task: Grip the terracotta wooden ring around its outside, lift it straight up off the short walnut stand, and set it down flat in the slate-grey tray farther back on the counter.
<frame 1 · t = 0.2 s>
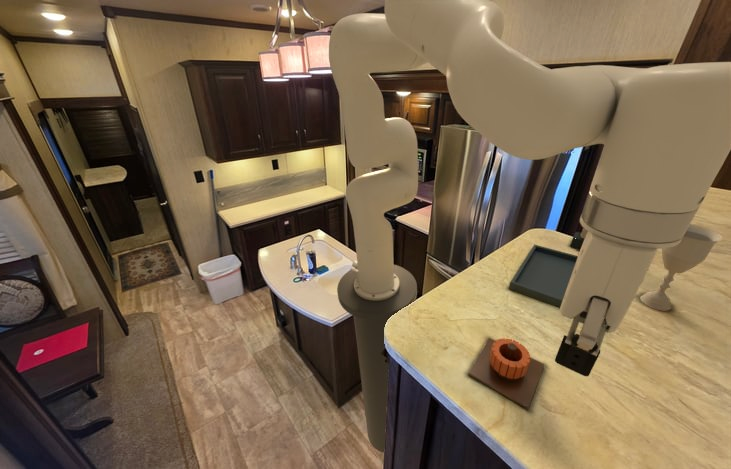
hand: (578, 340, 35), 18 cm above the worktop, tool pointing down, fingers open, 9 cm apart
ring: (507, 363, 51), point 2 cm above the worktop, touching stand
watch: (582, 246, 85), on the worktop
chalice: (654, 303, 64), on the worktop
tray: (554, 278, 74), on the worktop
stand: (505, 370, 52), on the worktop
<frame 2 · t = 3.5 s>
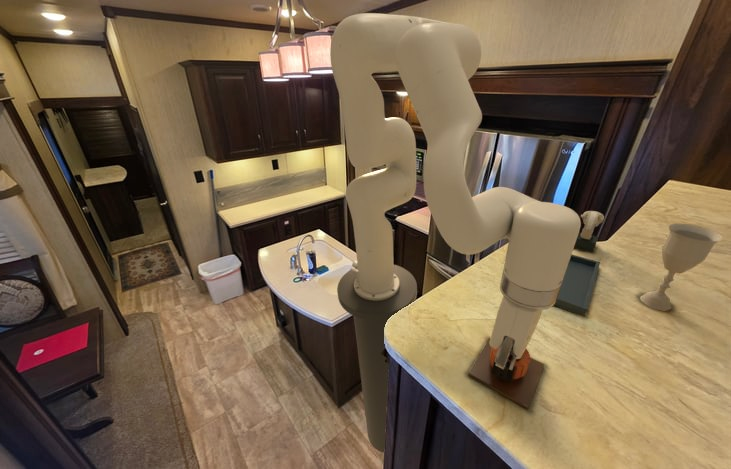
hand: (507, 363, 51), 2 cm above the worktop, tool pointing down, fingers closed on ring, 6 cm apart
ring: (507, 363, 51), point 2 cm above the worktop, touching gripper, stand
everything else where it was.
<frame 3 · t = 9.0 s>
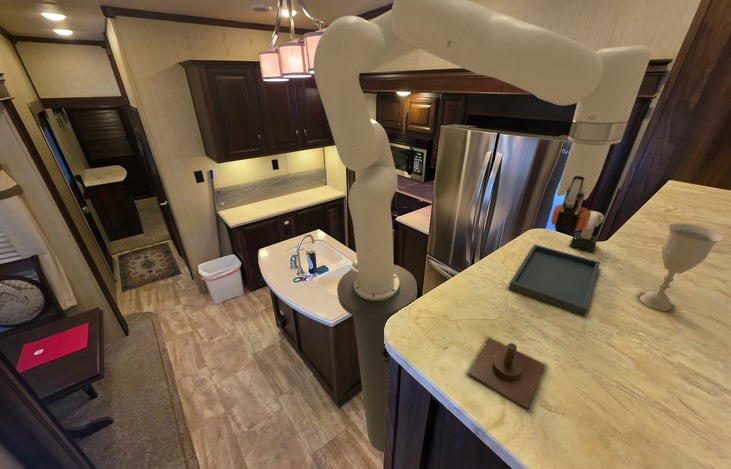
hand: (568, 223, 58), 20 cm above the worktop, tool pointing down, fingers closed on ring, 6 cm apart
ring: (568, 223, 58), point 20 cm above the worktop, touching gripper
everything else where it was.
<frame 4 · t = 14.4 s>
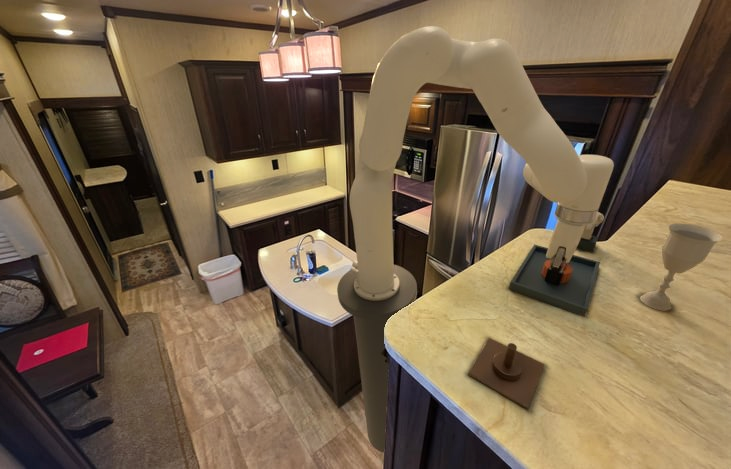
hand: (554, 275, 73), 1 cm above the worktop, tool pointing down, fingers closed on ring, 6 cm apart
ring: (555, 276, 73), point 1 cm above the worktop, touching gripper
everything else where it was.
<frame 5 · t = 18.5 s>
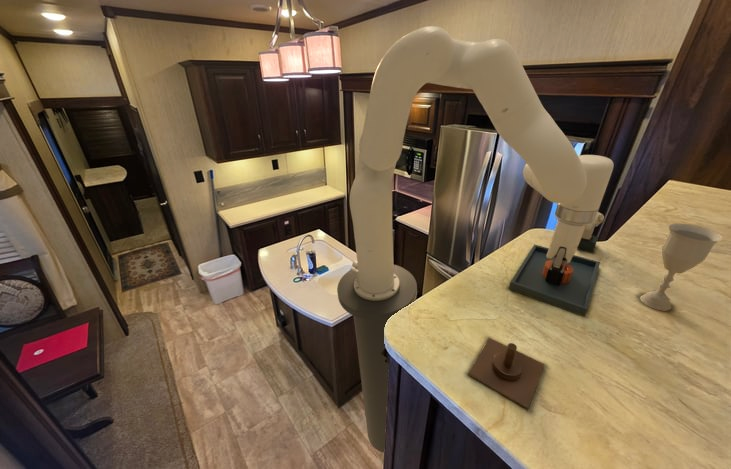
hand: (555, 275, 73), 1 cm above the worktop, tool pointing down, fingers closed on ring, 6 cm apart
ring: (555, 276, 73), point 1 cm above the worktop, touching gripper
everything else where it was.
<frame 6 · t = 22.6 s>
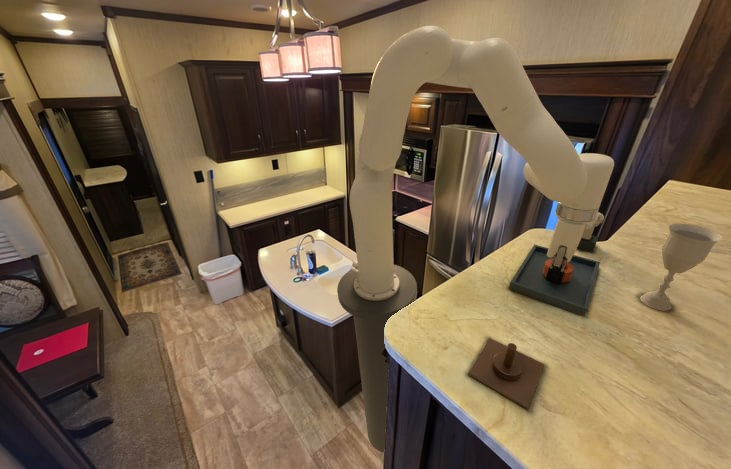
hand: (556, 274, 73), 1 cm above the worktop, tool pointing down, fingers closed on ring, 6 cm apart
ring: (556, 275, 73), point 1 cm above the worktop, touching gripper
everything else where it was.
when the fingers open (3 cm above the worktop, at t = 30.2 s): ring drops 3 cm, resting on tray.
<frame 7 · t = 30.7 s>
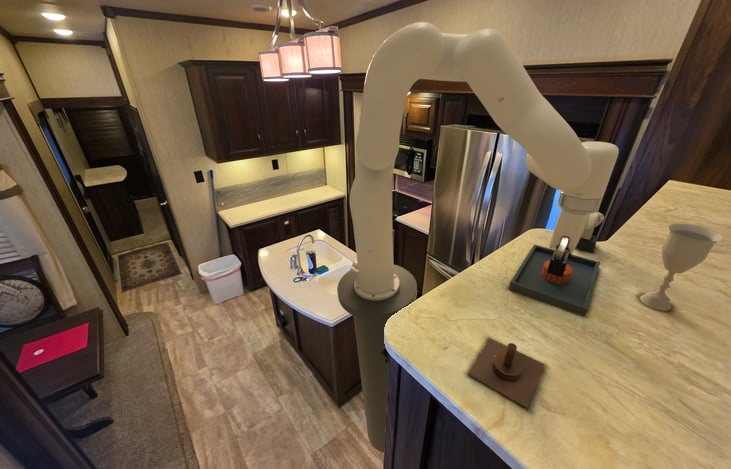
hand: (558, 264, 71), 4 cm above the worktop, tool pointing down, fingers open, 9 cm apart
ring: (555, 276, 73), point 1 cm above the worktop, touching tray
everything else where it was.
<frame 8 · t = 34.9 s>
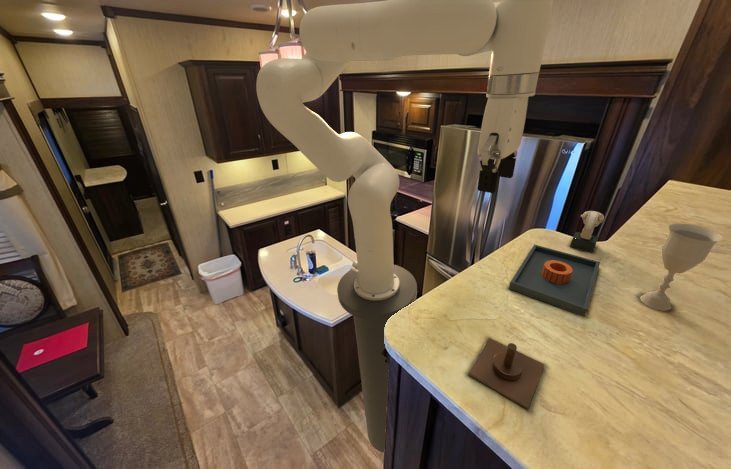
hand: (495, 183, 57), 28 cm above the worktop, tool pointing down, fingers open, 9 cm apart
nothing on the worktop moved.
at the end: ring inside the target area in the tray (0.0 cm from its centre), point 0.6 cm above the tray's base; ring tilted 0°; the gripper is holding nothing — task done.
